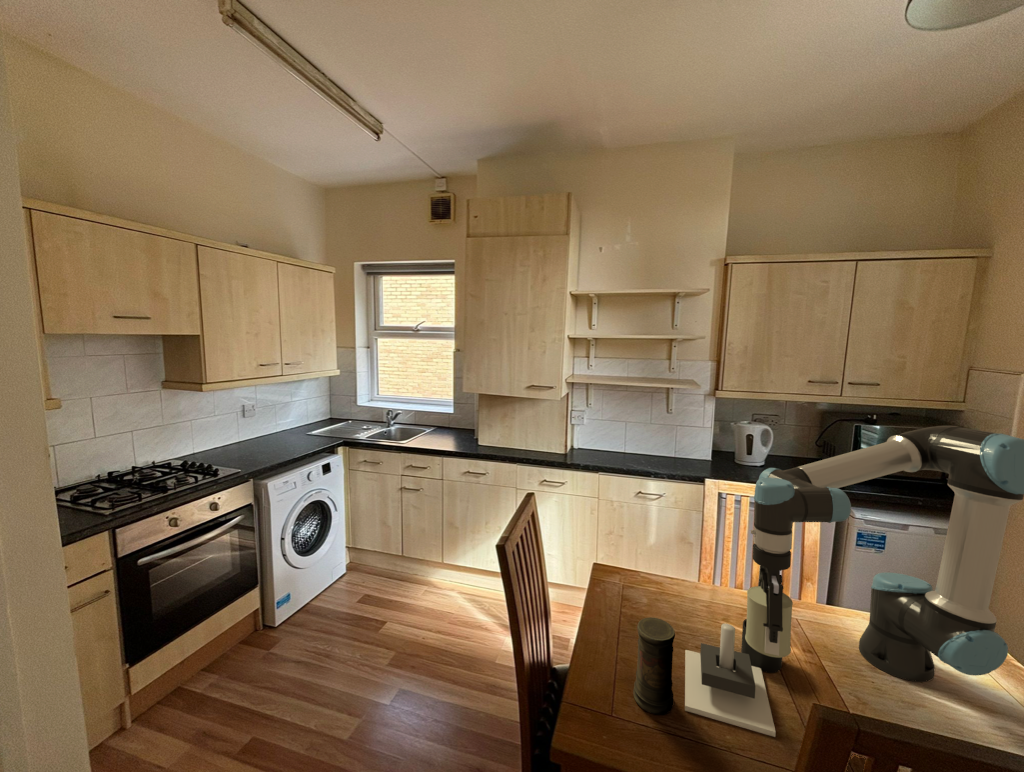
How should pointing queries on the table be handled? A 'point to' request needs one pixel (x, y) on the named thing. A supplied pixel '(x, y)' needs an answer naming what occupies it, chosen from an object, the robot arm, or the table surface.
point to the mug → (760, 656)
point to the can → (759, 616)
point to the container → (654, 666)
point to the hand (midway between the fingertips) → (767, 639)
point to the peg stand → (723, 702)
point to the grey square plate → (727, 672)
